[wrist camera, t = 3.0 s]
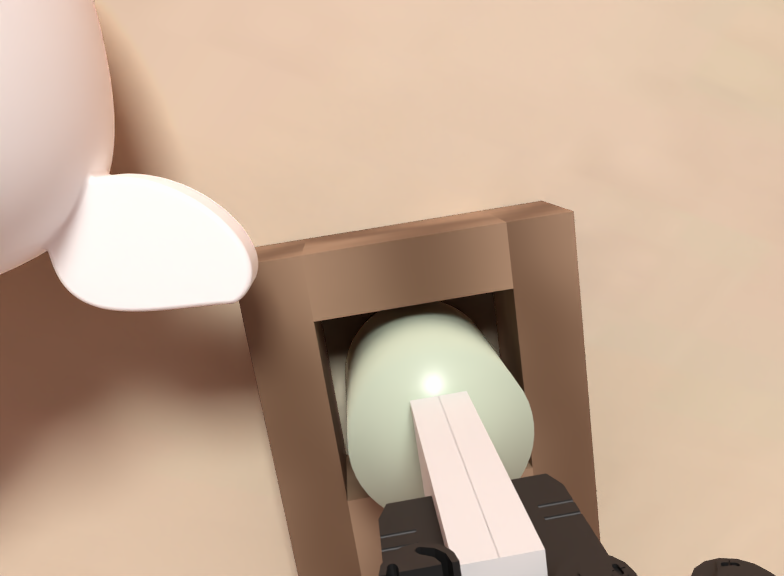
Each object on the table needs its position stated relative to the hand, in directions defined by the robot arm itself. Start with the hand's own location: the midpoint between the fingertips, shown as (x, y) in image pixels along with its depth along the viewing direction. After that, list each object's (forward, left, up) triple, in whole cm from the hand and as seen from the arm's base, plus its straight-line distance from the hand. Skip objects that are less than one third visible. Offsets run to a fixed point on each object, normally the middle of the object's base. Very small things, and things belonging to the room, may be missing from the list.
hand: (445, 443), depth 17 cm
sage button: (0, 0, -6) cm, 6 cm away
